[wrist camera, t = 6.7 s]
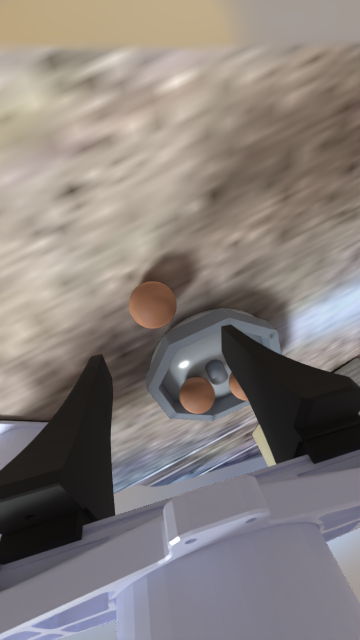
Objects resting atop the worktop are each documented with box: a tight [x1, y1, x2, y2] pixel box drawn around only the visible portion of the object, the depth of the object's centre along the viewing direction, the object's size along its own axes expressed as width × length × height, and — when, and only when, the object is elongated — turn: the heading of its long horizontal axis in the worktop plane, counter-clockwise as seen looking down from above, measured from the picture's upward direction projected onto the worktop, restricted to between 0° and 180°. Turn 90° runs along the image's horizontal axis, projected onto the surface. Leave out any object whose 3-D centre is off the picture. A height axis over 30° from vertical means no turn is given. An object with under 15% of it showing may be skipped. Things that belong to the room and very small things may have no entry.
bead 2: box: [179, 377, 215, 414], centre depth 25 cm, size 4×4×4 cm
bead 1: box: [129, 281, 176, 329], centre depth 19 cm, size 4×4×4 cm
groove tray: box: [146, 308, 281, 421], centre depth 25 cm, size 14×14×3 cm
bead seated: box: [229, 372, 248, 401], centre depth 26 cm, size 4×4×4 cm
